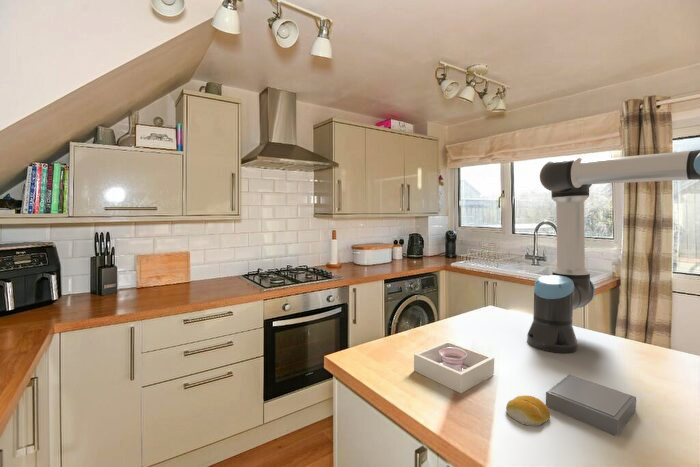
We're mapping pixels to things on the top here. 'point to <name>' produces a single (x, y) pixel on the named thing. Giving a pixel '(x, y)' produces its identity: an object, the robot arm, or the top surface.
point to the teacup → (453, 358)
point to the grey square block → (592, 403)
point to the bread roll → (528, 410)
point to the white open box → (456, 380)
